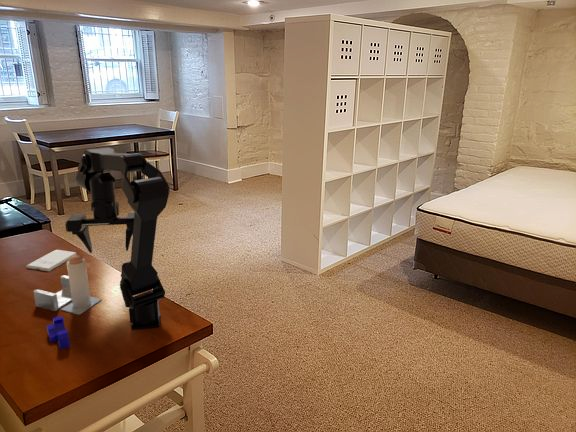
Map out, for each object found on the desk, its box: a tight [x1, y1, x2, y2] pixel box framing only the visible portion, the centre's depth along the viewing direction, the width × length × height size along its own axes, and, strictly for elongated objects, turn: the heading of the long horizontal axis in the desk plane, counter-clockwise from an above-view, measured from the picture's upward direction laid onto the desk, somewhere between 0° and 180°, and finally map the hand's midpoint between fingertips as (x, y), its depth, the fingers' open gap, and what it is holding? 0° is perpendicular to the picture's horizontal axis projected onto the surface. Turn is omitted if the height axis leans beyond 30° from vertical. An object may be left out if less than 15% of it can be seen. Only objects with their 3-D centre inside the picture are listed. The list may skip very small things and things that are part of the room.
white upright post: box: [66, 255, 91, 309], centre depth 112 cm, size 4×4×14 cm
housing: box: [33, 274, 72, 312], centre depth 116 cm, size 6×10×4 cm, turn 161°
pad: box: [60, 296, 102, 316], centre depth 115 cm, size 6×8×1 cm
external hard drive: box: [26, 249, 78, 272], centre depth 139 cm, size 2×8×12 cm
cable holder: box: [46, 315, 71, 350], centre depth 100 cm, size 8×4×4 cm, turn 35°
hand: (109, 251), depth 117 cm, fingers open, 9 cm apart
